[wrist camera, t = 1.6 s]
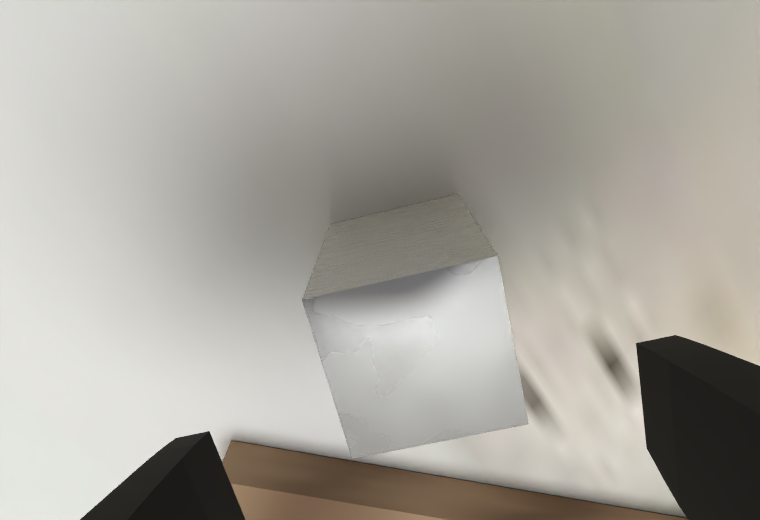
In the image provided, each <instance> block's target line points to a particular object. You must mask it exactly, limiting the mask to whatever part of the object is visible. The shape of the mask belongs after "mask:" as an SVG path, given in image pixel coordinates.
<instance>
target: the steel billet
mask: <svg viewBox="0 0 760 520" xmlns="http://www.w3.org/2000/svg"><path fill="white" fill-rule="evenodd" d="M302 301H303V304H304V307H305V310H306V314H307V317H308V320H309V323H310V326H311V330H312V333H313V336H314V339H315V342H316V345H317V349H318V352H319V355H320V358H321V361H322V365H323V368H324V371H325V374H326V377H327V380H328V384H329V387H330V390H331V393H332V396H333V400H334V403H335V406H336V409H337V412H338V415H339V419H340V422H341V425H342V428H343V431H344V435H345V438H346V441H347V444H348V447H349V450H350V454H351V457H352V459H354V458H359V457H364V456H369V455H374V454H379V453H384V452H389V451H395V450H400V449H405V448H410V447H415V446H420V445H425V444H430V443H435V442H440V441H445V440H450V439H456V438H461V437H466V436H471V435H476V434H481V433H486V432H491V431H496V430H501V429H506V428H511V427H517V426H522V425H527V424H528V418H527V413H526V407H525V402H524V396H523V391H522V385H521V380H520V374H519V369H518V363H517V358H516V352H515V347H514V341H513V336H512V330H511V325H510V319H509V314H508V308H507V303H506V297H505V292H504V286H503V281H502V275H501V270H500V264H499V259H498V255H497V253H496V252H495V250H494V249H493V247H492V246H491V244H490V243H489V241H488V240H487V238H486V237H485V235H484V233H483V232H482V230H481V229H480V227H479V226H478V224H477V223H476V221H475V220H474V218H473V216H472V215H471V213H470V212H469V210H468V209H467V207H466V206H465V204H464V203H463V201H462V199H461V198H460V196H459V195H458V194H456V195H452V196H447V197H443V198H439V199H435V200H430V201H426V202H422V203H418V204H413V205H409V206H405V207H401V208H396V209H392V210H388V211H384V212H379V213H375V214H371V215H367V216H362V217H358V218H354V219H350V220H346V221H341V222H337V223H333V224H331V225H330V227H329V230H328V232H327V235H326V238H325V240H324V243H323V246H322V248H321V251H320V254H319V256H318V259H317V262H316V264H315V267H314V269H313V272H312V275H311V277H310V280H309V283H308V285H307V288H306V291H305V293H304V296H303V299H302Z"/></svg>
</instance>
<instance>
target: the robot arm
mask: <svg viewBox="0 0 760 520" xmlns="http://www.w3.org/2000/svg"><path fill="white" fill-rule="evenodd" d="M636 346H637V356H638V366H639V376H640V386H641V395H642V405H643V415H644V425H645V435H646V445H647V449H648V451H649V453H650V455H651V457H652V459H653V460H654V462H655V464H656V466H657V468H658V470H659V471H660V473H661V475H662V477H663V479H664V481H665V482H666V484H667V486H668V487H669V489H670V491H671V493H672V494H673V496H674V498H675V500H676V501H677V503H678V505H679V507H680V508H681V509H682V511H683V512H684V514H685V515H686V516H687V518H688V519H689V520H760V366H758V365H755V364H753V363H750V362H748V361H745V360H743V359H740V358H737V357H735V356H732V355H730V354H727V353H724V352H722V351H719V350H717V349H714V348H711V347H709V346H706V345H703V344H701V343H698V342H695V341H692V340H689V339H686V338H683V337H680V336H676V335H674V336H669V337H664V338H659V339H655V340H650V341H645V342H640V343H636ZM80 520H245V517H244V515H243V512H242V510H241V507H240V505H239V503H238V500H237V498H236V495H235V493H234V490H233V488H232V485H231V483H230V481H229V478H228V476H227V473H226V471H225V468H224V466H223V463H222V461H221V459H220V456H219V454H218V451H217V449H216V446H215V444H214V442H213V439H212V437H211V434H210V432H209V431H208V432H204V433H199V434H194V435H189V436H184V437H179V438H176V439H174V440H173V441H171V442H170V443H169V444H167V445H166V446H165V447H163V448H162V449H161V450H160V451H158V452H157V453H156V454H155V455H153V456H152V457H151V458H150V459H149V460H147V461H146V462H145V463H144V464H143V465H142V466H140V467H139V468H138V469H137V470H136V471H135V472H134V473H132V474H131V475H130V476H129V477H128V478H127V479H126V480H124V481H123V482H122V483H121V484H120V485H119V486H118V487H117V488H115V489H114V490H113V491H112V492H111V493H110V494H109V495H107V496H106V497H105V498H104V499H103V500H102V501H101V502H100V503H98V504H97V505H96V506H95V507H94V508H93V509H92V510H91V511H89V512H88V513H87V514H86V515H85V516H84V517H83V518H81V519H80Z"/></svg>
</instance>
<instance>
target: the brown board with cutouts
mask: <svg viewBox="0 0 760 520" xmlns="http://www.w3.org/2000/svg"><path fill="white" fill-rule="evenodd" d="M222 463H223V466H224V468H225V471H226V473H227V476H228V478H229V481H230V483H231V485H232V488H233V490H234V493H235V495H236V498H237V500H238V503H239V505H240V507H241V510H242V512H243V515H244V517H245V520H689V519H687V518H681V517H675V516H669V515H663V514H657V513H651V512H646V511H640V510H634V509H628V508H622V507H616V506H611V505H605V504H599V503H593V502H587V501H581V500H575V499H570V498H564V497H558V496H552V495H546V494H540V493H535V492H529V491H523V490H517V489H511V488H505V487H499V486H494V485H488V484H482V483H476V482H470V481H464V480H458V479H453V478H447V477H441V476H435V475H429V474H423V473H418V472H412V471H406V470H400V469H394V468H388V467H382V466H377V465H371V464H365V463H359V462H353V461H347V460H341V459H336V458H330V457H324V456H318V455H312V454H306V453H301V452H295V451H289V450H283V449H277V448H271V447H265V446H260V445H254V444H248V443H242V442H236V441H231V443H230V446H229V448H228V450H227V453H226V455H225V457H224V460H223V462H222Z"/></svg>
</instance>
